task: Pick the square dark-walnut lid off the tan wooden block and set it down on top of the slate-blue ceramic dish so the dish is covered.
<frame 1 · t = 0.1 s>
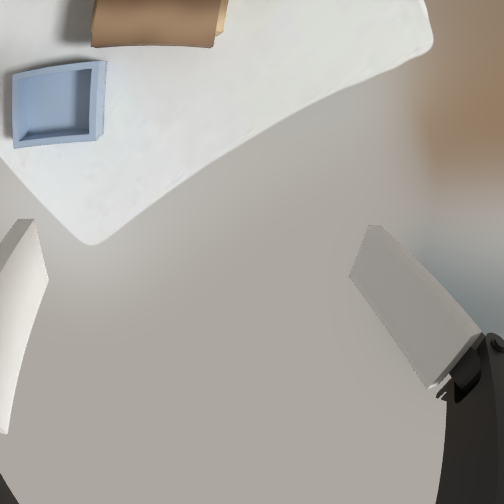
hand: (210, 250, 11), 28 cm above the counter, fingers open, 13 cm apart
tan wooden block: (162, 2, 24), on the counter
dish: (63, 101, 27), on the counter
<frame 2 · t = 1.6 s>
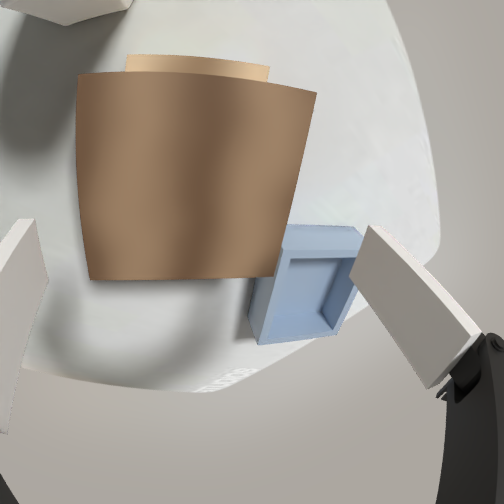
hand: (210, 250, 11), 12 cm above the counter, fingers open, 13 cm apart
lid: (185, 173, 17), point 4 cm above the counter, touching tan wooden block
tan wooden block: (182, 155, 21), on the counter
dish: (299, 273, 30), on the counter
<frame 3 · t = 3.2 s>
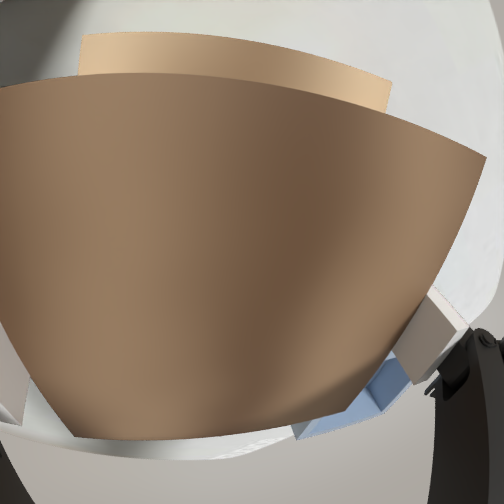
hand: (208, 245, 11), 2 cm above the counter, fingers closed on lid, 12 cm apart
lid: (218, 286, 9), point 4 cm above the counter, touching gripper, tan wooden block
tan wooden block: (204, 224, 13), on the counter
dish: (351, 354, 22), on the counter
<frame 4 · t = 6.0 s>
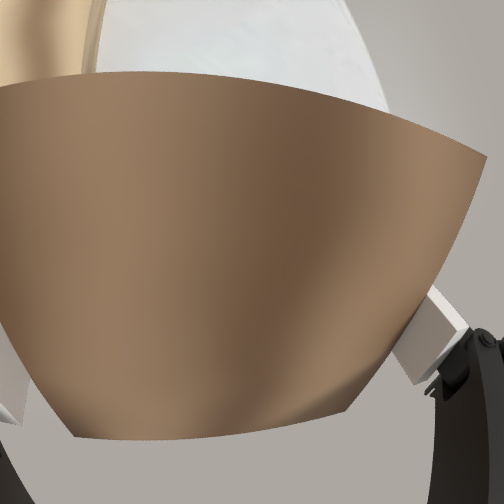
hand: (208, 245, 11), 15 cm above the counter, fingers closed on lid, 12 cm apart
lid: (218, 286, 9), point 17 cm above the counter, touching gripper
tan wooden block: (57, 21, 14), on the counter
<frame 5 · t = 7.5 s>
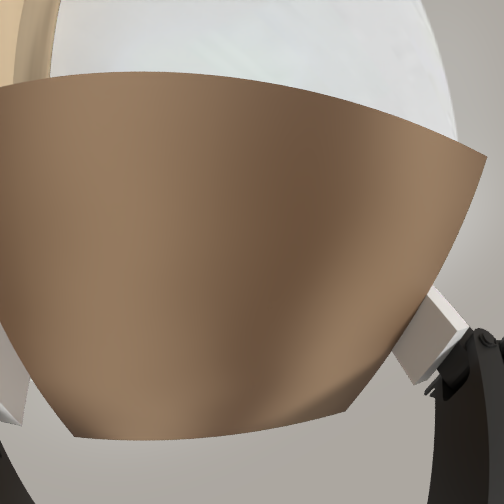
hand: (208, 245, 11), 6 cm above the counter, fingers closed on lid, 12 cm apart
lid: (218, 286, 9), point 8 cm above the counter, touching gripper
when the fingers open (4 cm above the counter, at t = 8.9 s): lid drops 2 cm, resting on dish.
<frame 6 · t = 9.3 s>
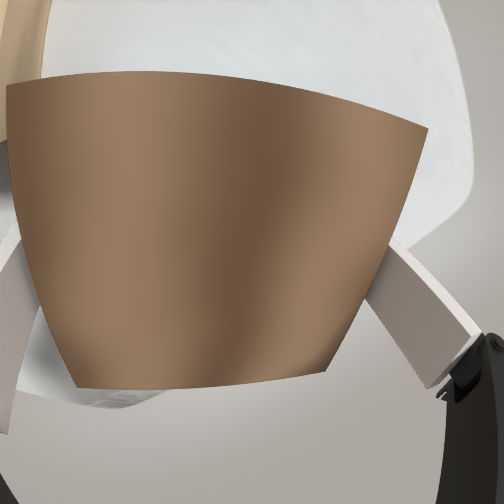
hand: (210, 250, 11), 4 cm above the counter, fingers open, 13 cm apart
lid: (207, 242, 11), point 4 cm above the counter, touching dish
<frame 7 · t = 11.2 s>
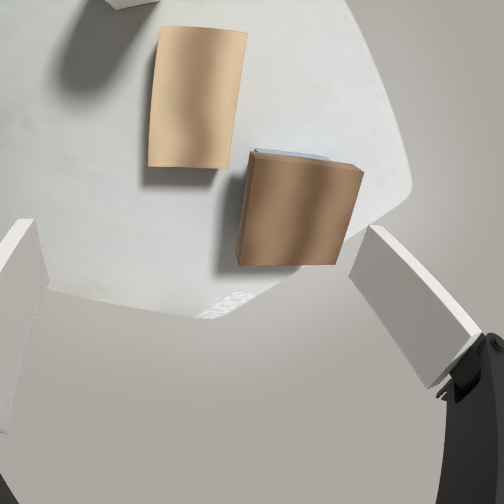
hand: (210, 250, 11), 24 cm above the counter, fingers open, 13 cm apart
lid: (294, 208, 34), point 4 cm above the counter, touching dish
tan wooden block: (193, 94, 28), on the counter
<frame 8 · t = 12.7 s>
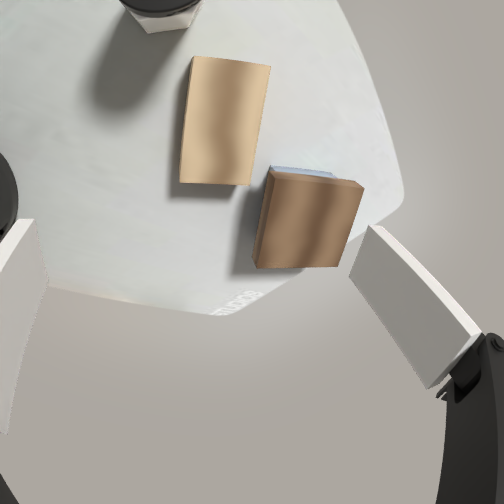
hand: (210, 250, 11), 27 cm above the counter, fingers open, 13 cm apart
lid: (303, 218, 39), point 4 cm above the counter, touching dish
jar: (166, 1, 23), on the counter
tan wooden block: (218, 117, 33), on the counter
dish: (293, 205, 42), on the counter
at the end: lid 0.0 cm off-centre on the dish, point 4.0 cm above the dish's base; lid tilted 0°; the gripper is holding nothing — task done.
